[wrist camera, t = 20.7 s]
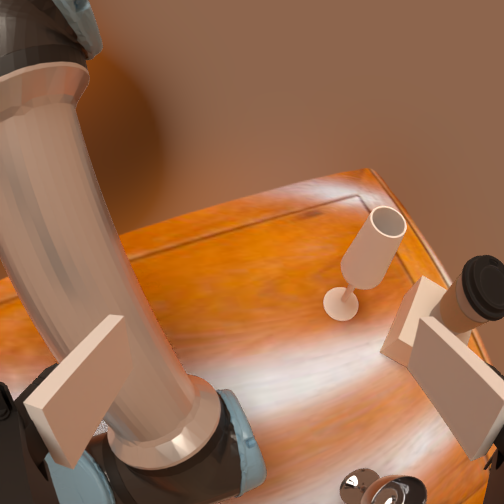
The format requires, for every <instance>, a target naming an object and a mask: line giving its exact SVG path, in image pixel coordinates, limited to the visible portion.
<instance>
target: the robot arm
mask: <svg viewBox="0 0 504 504" xmlns="http://www.w3.org/2000/svg"><path fill="white" fill-rule="evenodd" d="M102 48H103V45H102V39H101V37H100V34H99V29H98V26H97V23H96V20H95V17H94V14H93V12H92V9H91V6H90V3H89V1H88V0H0V258H1V261H2V263H3V265H4V267H5V270H6V272H7V274H8V276H9V278H10V280H11V282H12V284H13V286H14V288H15V290H16V292H17V294H18V296H19V298H20V300H21V302H22V304H23V305H24V307H25V309H26V311H27V313H28V314H29V316H30V318H31V320H32V321H33V323H34V325H35V327H36V328H37V330H38V332H39V333H40V335H41V336H42V338H43V340H44V341H45V343H46V344H47V346H48V347H49V349H50V350H51V352H52V353H53V355H54V356H55V358H56V359H57V361H58V362H59V364H57V363H56V364H54V365H52V366H50V367H48V368H46V369H45V370H44V371H43V372H42V373H41V374H40V375H39V376H38V378H36V379H35V380H34V381H33V382H32V384H30V385H29V386H28V387H27V388H26V389H25V390H24V391H23V392H22V393H21V394H20V396H19V397H18V398H17V399H16V400H15V401H13V399H12V396H11V394H10V392H9V389H8V387H7V385H5V384H4V383H3V382H0V504H216V503H218V502H221V501H224V500H227V499H230V498H232V497H240V496H242V495H243V494H244V493H245V492H247V491H249V490H252V489H254V488H256V487H258V486H260V485H261V484H262V483H263V482H264V481H265V479H266V476H267V470H266V465H265V462H264V459H263V456H262V454H261V451H260V449H259V446H258V444H257V442H256V441H255V439H254V435H253V432H252V429H251V427H250V424H249V422H248V420H247V418H246V416H245V413H244V411H243V409H242V407H241V405H240V403H239V401H238V399H237V398H236V396H235V394H234V393H233V392H232V391H231V390H228V389H224V390H217V391H215V390H214V388H213V387H212V386H211V385H210V384H209V383H208V382H207V381H205V380H204V379H202V378H199V377H197V376H193V375H187V374H186V372H185V371H184V369H183V367H182V365H181V364H180V362H179V360H178V358H177V357H176V355H175V353H174V351H173V349H172V347H171V346H170V344H169V342H168V340H167V338H166V336H165V334H164V333H163V331H162V329H161V327H160V325H159V323H158V321H157V319H156V317H155V315H154V313H153V311H152V309H151V307H150V305H149V303H148V301H147V299H146V297H145V295H144V293H143V291H142V289H141V286H140V284H139V282H138V280H137V278H136V276H135V273H134V271H133V269H132V267H131V265H130V262H129V260H128V258H127V255H126V253H125V251H124V248H123V246H122V244H121V241H120V239H119V237H118V234H117V232H116V229H115V227H114V224H113V222H112V219H111V217H110V214H109V212H108V209H107V206H106V204H105V201H104V198H103V196H102V193H101V190H100V187H99V185H98V182H97V179H96V176H95V173H94V170H93V167H92V164H91V161H90V158H89V155H88V152H87V149H86V145H85V142H84V139H83V136H82V132H81V128H80V125H79V121H78V118H77V114H76V110H75V109H76V105H77V102H78V100H79V99H80V97H81V95H82V94H83V92H84V90H85V89H86V87H87V86H88V83H89V73H88V69H87V65H86V60H91V59H93V58H94V56H95V55H97V54H98V53H99V52H101V50H102ZM407 369H408V370H409V371H410V373H411V374H412V376H413V377H414V378H415V380H416V381H417V382H418V384H419V385H420V387H421V388H422V389H423V391H424V392H425V394H426V395H427V397H428V398H429V399H430V401H431V402H432V404H433V405H434V407H435V408H436V409H437V411H438V412H439V414H440V415H441V417H442V418H443V420H444V421H445V423H446V424H447V426H448V427H449V429H450V430H451V432H452V433H453V435H454V436H455V438H456V439H457V441H458V442H459V444H460V445H461V447H462V448H463V450H464V451H465V453H466V454H467V456H468V458H469V459H470V461H473V460H475V459H477V458H480V457H482V456H484V455H486V454H487V452H488V451H489V449H490V448H491V446H492V444H493V443H494V444H495V446H496V447H497V449H496V450H495V452H494V453H493V455H492V456H491V458H490V459H489V461H488V462H487V464H486V465H485V467H484V469H485V470H486V469H487V468H488V466H489V465H490V464H491V463H492V464H491V468H490V475H489V480H488V485H487V489H486V493H485V497H484V501H483V504H504V376H503V375H501V373H500V372H499V371H498V370H497V369H496V368H495V367H493V366H491V365H490V364H488V363H486V362H484V361H482V360H481V359H480V358H479V357H478V356H477V355H476V354H475V353H474V352H473V351H472V350H470V349H469V348H468V347H467V346H466V345H465V344H464V343H463V342H462V341H460V340H459V339H458V338H457V337H456V336H455V335H454V334H453V333H451V332H450V331H449V330H448V329H447V328H446V327H445V326H443V325H442V324H441V323H440V322H439V321H438V320H436V319H435V318H434V317H433V316H431V317H420V318H419V323H418V327H417V332H416V336H415V340H414V344H413V348H412V352H411V356H410V359H409V363H408V367H407ZM102 419H103V420H104V421H105V422H106V423H107V425H108V432H105V433H102V434H99V435H95V436H93V434H94V433H95V431H96V429H97V428H98V426H99V424H100V423H101V421H102Z"/></svg>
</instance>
